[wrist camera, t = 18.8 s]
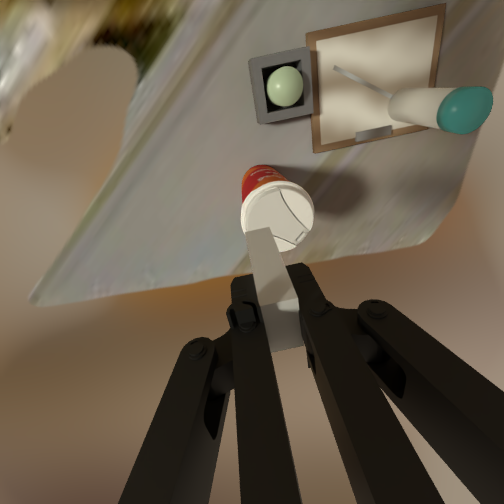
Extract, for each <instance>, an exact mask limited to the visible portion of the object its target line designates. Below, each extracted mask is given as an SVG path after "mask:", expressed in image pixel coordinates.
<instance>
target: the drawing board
mask: <svg viewBox="0 0 504 504" xmlns="http://www.w3.org/2000/svg"><path fill="white" fill-rule="evenodd" d="M445 8H446V3H444V4H439V5H434V6H430V7H425V8H420V9H416V10H411V11H406V12H402V13H397V14H392V15H388V16H383V17H378V18H374V19H369V20H364V21H360V22H355V23H350V24H346V25H341V26H337V27H332V28H327V29H323V30H318V31H313V32H309V33H306V47H307V46H310V59H311V76H312V93H313V111H314V113H312V114H311V128H312V144H313V153H319V152H323V151H328V150H333V149H337V148H342V147H347V146H351V145H356V144H360V143H365V142H370V141H374V140H379V139H384V138H388V137H393V136H398V135H402V134H407V133H412V132H416V131H421V130H425V129H428V127H426V126H421V125H416V124H410V123H405V122H400V121H395V120H392V119H391V118H390V116H389V114H388V104H389V101H390V99H391V97H392V96H393V95H394V94H395V93H396V92H397V91H398V90H400V89H403V88H434V84H435V77H436V70H437V63H438V56H439V49H440V43H441V36H442V29H443V22H444V15H445Z"/></svg>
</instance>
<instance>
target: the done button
mask: <svg viewBox="0 0 504 504" xmlns="http://www.w3.org/2000/svg"><path fill="white" fill-rule="evenodd" d="M302 91H303V80H302V76H301V74H300V73H299V71H298V70H296V69H295V68H293V67H290V66H284V67H281V68H279V69H277V70H275V71H274V72H272V73H271V74H270V75H269V76H268V78H267V80H266V83H265V94H266V97H267V98H268V100H269V101H270V102H271V103H272V104H274V105H277V106H290V105H292V104H294V103H295V102H296V101H297V100H298V99H299V98H300V96H301V94H302Z"/></svg>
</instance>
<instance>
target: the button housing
mask: <svg viewBox="0 0 504 504" xmlns="http://www.w3.org/2000/svg"><path fill="white" fill-rule="evenodd" d="M290 63H295V69H296V70H298V71H299V73H300V74H301V76H302V80H303V91H302V94H301V96H300V98H299V99H298V105H296V106H291V107H286V108H282V109H277V110H272V111H268V112H267V106H266V98H265V91H264V84H263V76H262V69H267V68H272V67H276V66H281V65H286V64H290ZM248 65H249V71H250V78H251V84H252V91H253V97H254V103H255V110H256V116H257V123H259V124H260V125H261V124H265V123H270V122H275V121H279V120H284V119H289V118H293V117H298V116H303V115H307V114H312V113H314V111H313V93H312V76H311V59H310V46H307V47H302V48H298V49H293V50H288V51H284V52H279V53H274V54H270V55H265V56H260V57H256V58H251V59H250V60H249V61H248Z"/></svg>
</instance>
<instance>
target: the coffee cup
mask: <svg viewBox="0 0 504 504" xmlns="http://www.w3.org/2000/svg"><path fill="white" fill-rule="evenodd" d="M242 202H243V205H242V207H241V225H242V229H243V232H244V234H245V232H247V231H252V230H256V229H261V228H266V227H270V229H271V232H272V234H273V237H274V239H275V242H276V244H277V247H278V249H279V252H283V251H287V250H290V249H293V248H294V247H296V246H297V244H298V243H299V242H301V241H302V240H303V239H304V238H305V237H306V236H307V234H308V232H309V230H310V231H311V228H312V225H313V220H314V205H313V202H312V199H311V197H310V196H309V194H308V193H307V192H306V191H305V190H304V189H303V188H302V187H300V186H299V185H297V184H295V183H292V182H290V181H288V180H287V179H286V178H285V177H284V176H282V175H281V174H280V173H279V172H277V171H276V170H275V169H273V168H272V167H270V166H267V165H257V166H254V167H252V168H250V169H249V170H248V171H247V172H246V174H245V175H244V177H243V180H242Z"/></svg>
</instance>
